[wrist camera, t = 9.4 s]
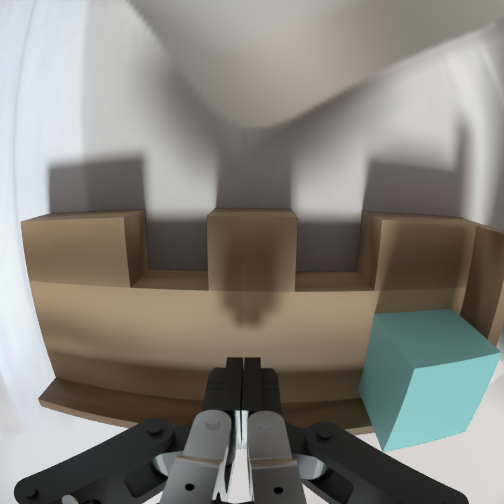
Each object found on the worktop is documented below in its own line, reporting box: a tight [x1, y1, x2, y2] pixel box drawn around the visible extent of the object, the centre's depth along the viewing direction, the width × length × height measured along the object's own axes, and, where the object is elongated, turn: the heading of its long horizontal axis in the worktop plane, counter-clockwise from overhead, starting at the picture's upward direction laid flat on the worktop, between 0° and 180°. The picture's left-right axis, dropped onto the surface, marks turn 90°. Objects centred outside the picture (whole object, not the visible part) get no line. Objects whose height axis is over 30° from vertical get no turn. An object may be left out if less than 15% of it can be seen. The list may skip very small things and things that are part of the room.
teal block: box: [358, 309, 502, 452], centre depth 13 cm, size 5×5×5 cm
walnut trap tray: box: [21, 208, 504, 440], centre depth 15 cm, size 11×26×6 cm, turn 90°
